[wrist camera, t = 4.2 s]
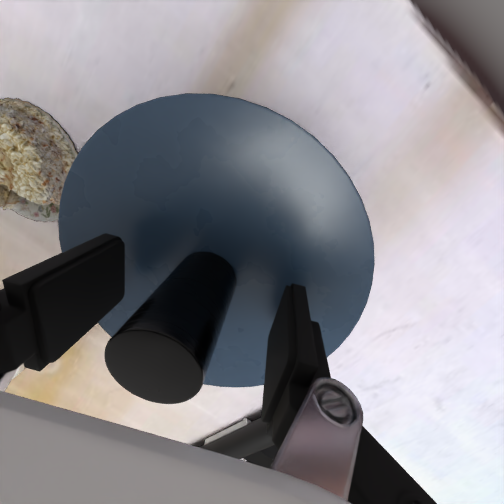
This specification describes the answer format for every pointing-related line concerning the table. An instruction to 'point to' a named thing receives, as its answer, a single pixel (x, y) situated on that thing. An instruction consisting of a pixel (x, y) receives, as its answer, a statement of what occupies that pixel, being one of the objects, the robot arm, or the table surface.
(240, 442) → the door handle
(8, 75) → the table surface
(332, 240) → the pot lid
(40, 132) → the cake
